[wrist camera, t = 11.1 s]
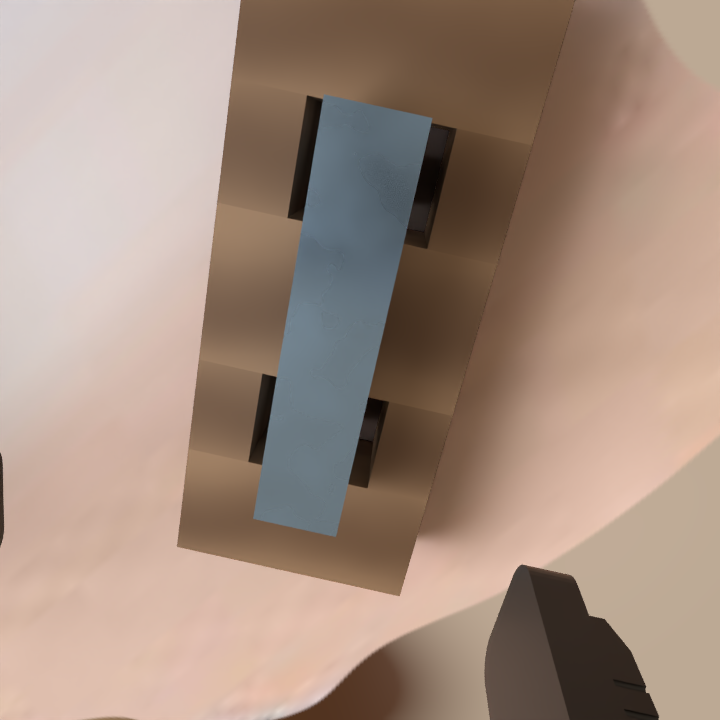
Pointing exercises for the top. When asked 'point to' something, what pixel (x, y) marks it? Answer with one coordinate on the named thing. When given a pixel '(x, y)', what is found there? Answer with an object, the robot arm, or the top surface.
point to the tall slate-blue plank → (338, 307)
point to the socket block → (416, 266)
